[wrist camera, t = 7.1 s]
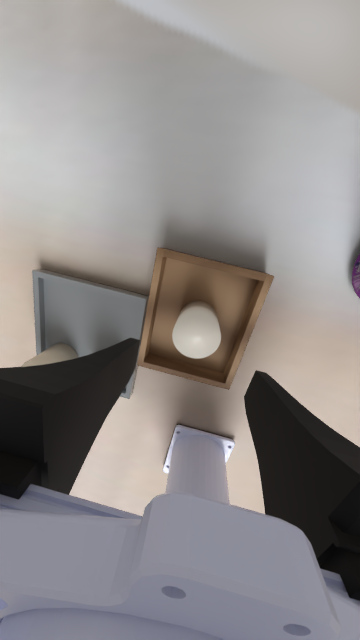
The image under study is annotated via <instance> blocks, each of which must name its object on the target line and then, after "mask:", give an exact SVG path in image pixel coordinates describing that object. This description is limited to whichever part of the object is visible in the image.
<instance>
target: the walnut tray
mask: <svg viewBox="0 0 360 640" xmlns="http://www.w3.org/2000/svg"><path fill="white" fill-rule="evenodd" d="M273 278H274V276H272V275H270V274H267V273H263V272H259V271H255V270H251V269H247V268H243V267H239V266H235V265H231V264H227V263H222V262H218V261H214V260H210V259H206V258H202V257H198V256H194V255H190V254H186V253H182V252H177V251H173V250H169V249H165V248H157V253H156V259H155V265H154V271H153V276H152V282H151V288H150V294H149V300H148V305H147V311H146V317H145V323H144V329H143V334H142V340H141V346H140V352H139V358H138V363H137V365H138V366H142V367H146V368H149V369H153V370H157V371H161V372H165V373H168V374H172V375H176V376H180V377H183V378H187V379H191V380H195V381H198V382H202V383H206V384H210V385H213V386H217V387H221V388H225V389H228V390H229V389H230V386H231V383H232V381H233V378H234V376H235V373H236V371H237V368H238V366H239V363H240V361H241V358H242V356H243V353H244V351H245V348H246V346H247V343H248V341H249V338H250V336H251V333H252V331H253V328H254V326H255V323H256V321H257V318H258V316H259V313H260V311H261V308H262V306H263V303H264V301H265V298H266V296H267V293H268V291H269V288H270V286H271V283H272V281H273ZM192 301H204V302H207V303H209V304H210V305H211V306H213V308H214V309H215V311H216V313H217V316H218V322H219V327H220V332H221V342H220V345H219V347H218V348H217V350H216V351H215V352H214V353H213V354H211V355H209V356H207V357H205V358H190V357H187V356H185V355H183V354H182V353H180V352H179V351H178V350H177V348H176V347H175V345H174V343H173V339H172V333H173V329H174V326H175V324H176V321H177V319H178V316H179V314H180V311H181V309H182V308H183V307H184V306H185V305H186V304H188V303H189V302H192Z"/></svg>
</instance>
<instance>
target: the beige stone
mask: <svg viewBox="0 0 360 640" xmlns="http://www.w3.org/2000/svg"><path fill="white" fill-rule="evenodd" d="M75 358H79V357H78V354H77V353H76V351H75V350H74V349H73V348H72V347H71V346H69V345H67V344H64V343H57V344H54V345H53V346H51V347H49V348H48V349H46V350H45V351H43V352H41V353H40V354H38V355H37V356H35V357H33V358H32V359H30V360H29V361H27V362H25V363H24V364H23V365H22V367H27V366H36V365H44V364H50V363H56V362H61V361H66V360H71V359H75Z"/></svg>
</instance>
